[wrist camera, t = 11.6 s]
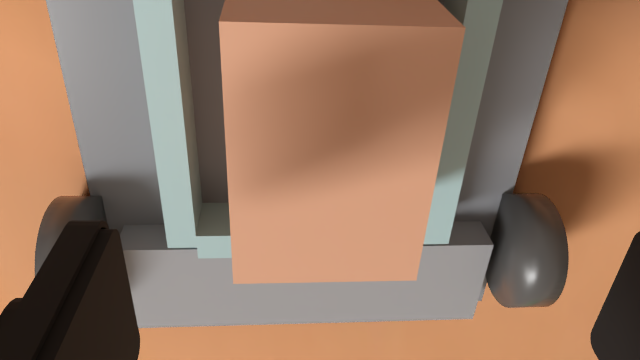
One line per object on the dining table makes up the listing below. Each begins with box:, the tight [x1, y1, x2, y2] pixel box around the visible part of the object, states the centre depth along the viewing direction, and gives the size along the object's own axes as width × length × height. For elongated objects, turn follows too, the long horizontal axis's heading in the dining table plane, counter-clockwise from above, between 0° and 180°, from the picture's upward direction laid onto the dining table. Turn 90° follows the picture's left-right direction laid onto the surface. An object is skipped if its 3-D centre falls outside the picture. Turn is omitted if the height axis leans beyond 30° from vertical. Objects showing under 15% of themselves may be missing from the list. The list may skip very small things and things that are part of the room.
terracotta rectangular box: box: [219, 0, 466, 284], centre depth 15 cm, size 5×7×6 cm
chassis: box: [35, 0, 568, 328], centre depth 17 cm, size 18×21×4 cm
